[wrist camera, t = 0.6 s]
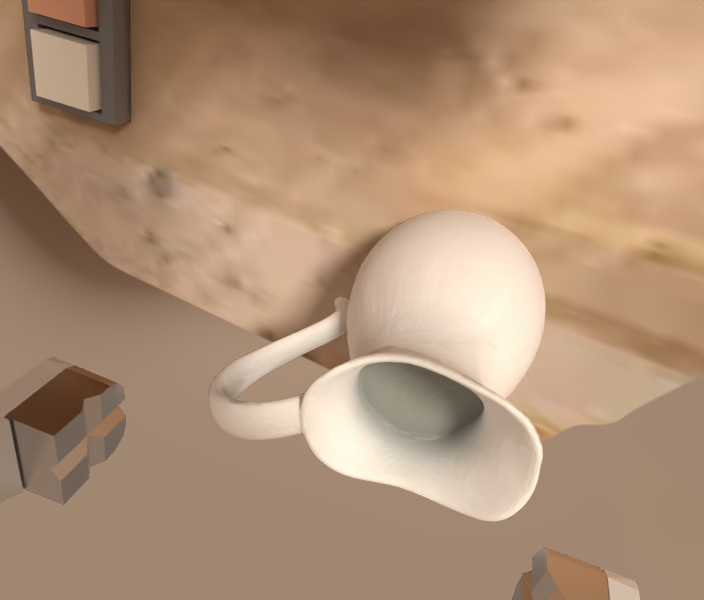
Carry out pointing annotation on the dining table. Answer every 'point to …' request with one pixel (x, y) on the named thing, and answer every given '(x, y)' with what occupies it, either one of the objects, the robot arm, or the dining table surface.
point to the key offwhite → (67, 69)
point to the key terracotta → (68, 11)
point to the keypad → (112, 58)
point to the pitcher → (417, 369)
